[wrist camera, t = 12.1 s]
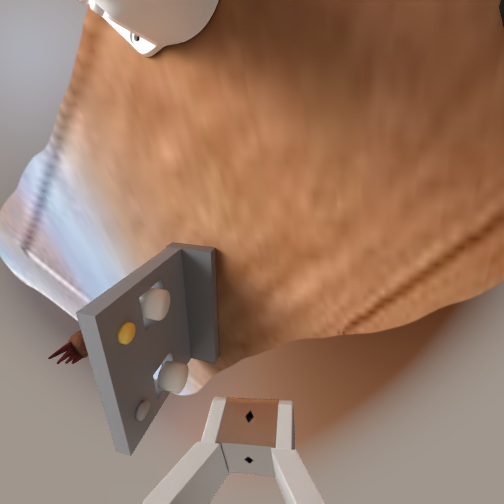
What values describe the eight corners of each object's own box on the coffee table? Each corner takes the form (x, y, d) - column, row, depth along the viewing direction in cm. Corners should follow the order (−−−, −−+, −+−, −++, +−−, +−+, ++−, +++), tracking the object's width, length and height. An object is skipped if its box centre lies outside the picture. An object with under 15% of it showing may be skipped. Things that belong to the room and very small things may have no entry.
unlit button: (187, 358, 46) (174, 379, 42) (189, 377, 48) (176, 399, 44) (170, 354, 47) (155, 375, 43) (172, 373, 49) (158, 395, 45)
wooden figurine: (101, 299, 59) (34, 349, 45) (124, 301, 57) (62, 353, 44) (110, 325, 61) (49, 380, 48) (132, 328, 60) (76, 384, 46)
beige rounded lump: (168, 284, 41) (151, 300, 37) (171, 309, 43) (155, 327, 39) (149, 281, 42) (130, 296, 38) (153, 305, 43) (135, 323, 40)
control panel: (215, 247, 47) (138, 325, 28) (219, 356, 56) (164, 466, 38) (172, 242, 48) (73, 312, 30) (183, 348, 58) (114, 450, 40)
